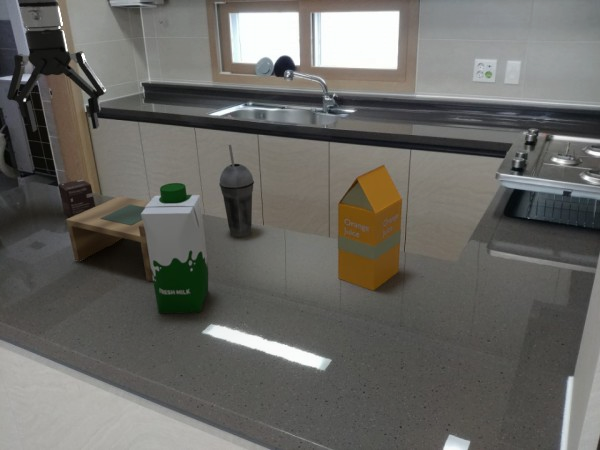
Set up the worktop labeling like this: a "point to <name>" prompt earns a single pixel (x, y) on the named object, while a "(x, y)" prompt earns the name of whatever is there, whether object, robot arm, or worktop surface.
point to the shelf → (109, 228)
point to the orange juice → (369, 230)
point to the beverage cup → (237, 197)
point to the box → (76, 197)
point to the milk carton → (176, 249)
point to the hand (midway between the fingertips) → (65, 129)
